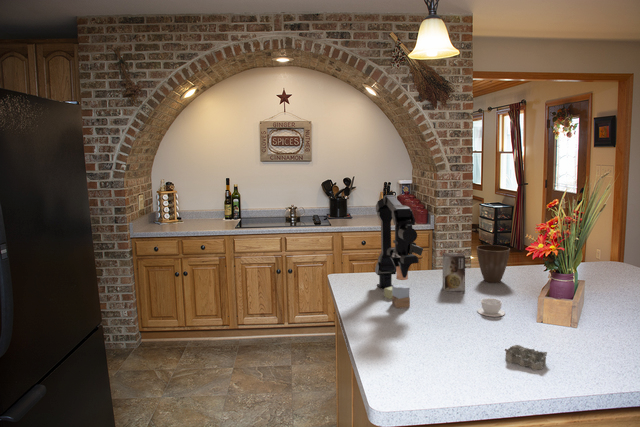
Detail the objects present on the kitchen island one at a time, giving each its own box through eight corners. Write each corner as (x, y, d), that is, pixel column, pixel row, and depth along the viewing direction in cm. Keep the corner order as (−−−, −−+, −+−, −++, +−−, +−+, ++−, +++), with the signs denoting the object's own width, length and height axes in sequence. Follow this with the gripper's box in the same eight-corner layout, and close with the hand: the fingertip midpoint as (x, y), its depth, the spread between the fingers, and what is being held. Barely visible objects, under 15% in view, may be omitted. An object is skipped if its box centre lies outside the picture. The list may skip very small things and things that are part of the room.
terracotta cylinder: (394, 277, 188) (394, 265, 188) (405, 276, 189) (405, 264, 189) (399, 280, 184) (399, 268, 183) (409, 279, 185) (409, 267, 184)
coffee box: (462, 287, 210) (462, 252, 208) (465, 291, 204) (465, 255, 202) (441, 286, 211) (442, 252, 209) (444, 291, 205) (444, 255, 203)
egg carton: (502, 361, 137) (502, 348, 136) (512, 353, 142) (512, 340, 142) (539, 372, 130) (540, 359, 129) (548, 363, 135) (549, 350, 134)
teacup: (507, 318, 171) (507, 306, 171) (479, 317, 173) (479, 305, 173) (502, 309, 181) (502, 297, 180) (475, 308, 183) (476, 296, 182)
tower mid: (392, 295, 189) (392, 285, 188) (402, 293, 190) (402, 284, 190) (398, 298, 184) (398, 289, 183) (409, 297, 186) (409, 287, 185)
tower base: (392, 304, 190) (392, 294, 189) (404, 302, 191) (404, 293, 190) (396, 308, 184) (396, 298, 184) (409, 307, 185) (409, 297, 185)
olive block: (384, 297, 199) (384, 288, 198) (390, 295, 201) (390, 286, 201) (391, 299, 196) (391, 290, 195) (397, 297, 198) (397, 288, 197)
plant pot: (473, 276, 228) (473, 244, 226) (504, 276, 226) (505, 244, 224) (479, 284, 213) (479, 251, 211) (512, 285, 211) (513, 251, 209)
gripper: (431, 241, 177) (430, 280, 179) (411, 233, 195) (410, 269, 197) (404, 242, 175) (404, 282, 177) (386, 234, 193) (386, 271, 195)
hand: (402, 276), depth 186 cm, fingers closed on terracotta cylinder, 5 cm apart
